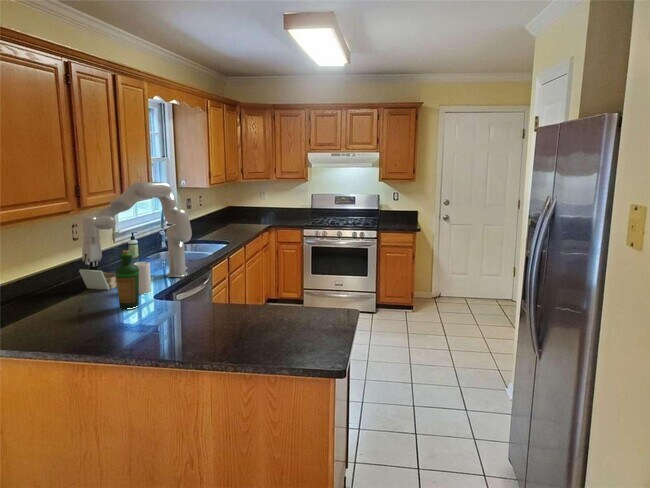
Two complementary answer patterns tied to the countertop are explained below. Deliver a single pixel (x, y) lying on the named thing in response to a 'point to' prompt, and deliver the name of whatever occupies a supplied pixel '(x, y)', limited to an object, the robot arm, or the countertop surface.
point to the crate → (111, 280)
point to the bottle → (127, 282)
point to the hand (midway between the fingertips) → (94, 273)
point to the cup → (144, 277)
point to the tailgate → (94, 279)
